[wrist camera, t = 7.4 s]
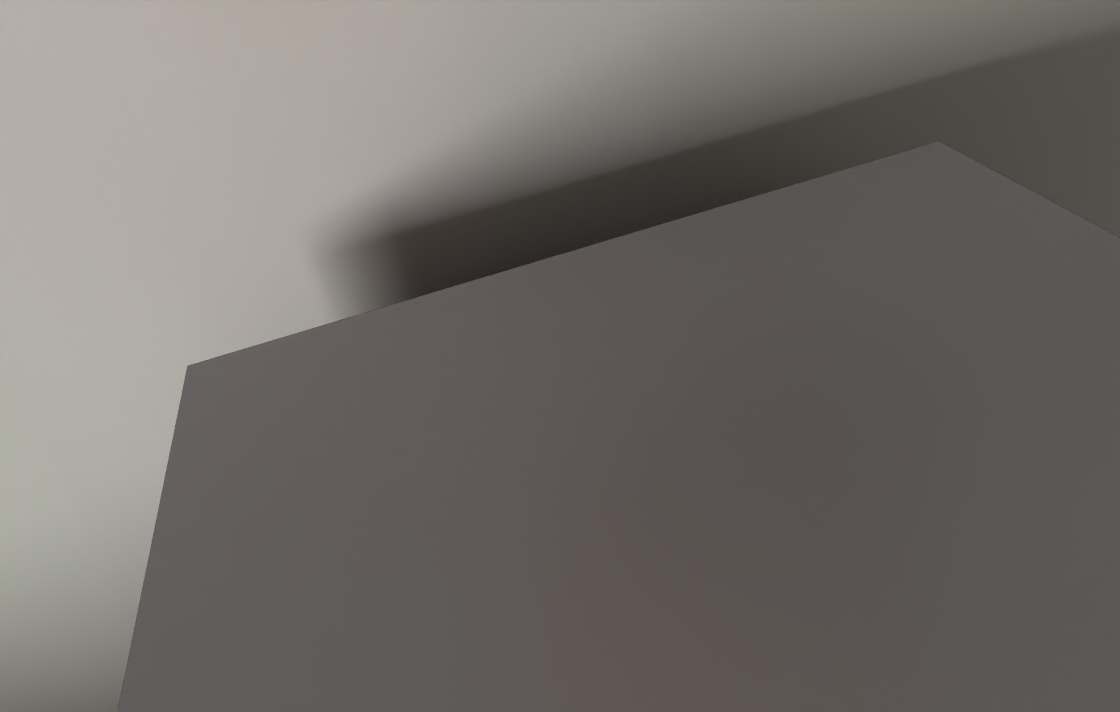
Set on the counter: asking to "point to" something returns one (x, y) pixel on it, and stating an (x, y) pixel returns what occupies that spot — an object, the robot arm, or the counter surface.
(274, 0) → the counter surface
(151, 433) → the counter surface
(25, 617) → the counter surface
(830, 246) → the matte grey cuboid
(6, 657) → the counter surface
